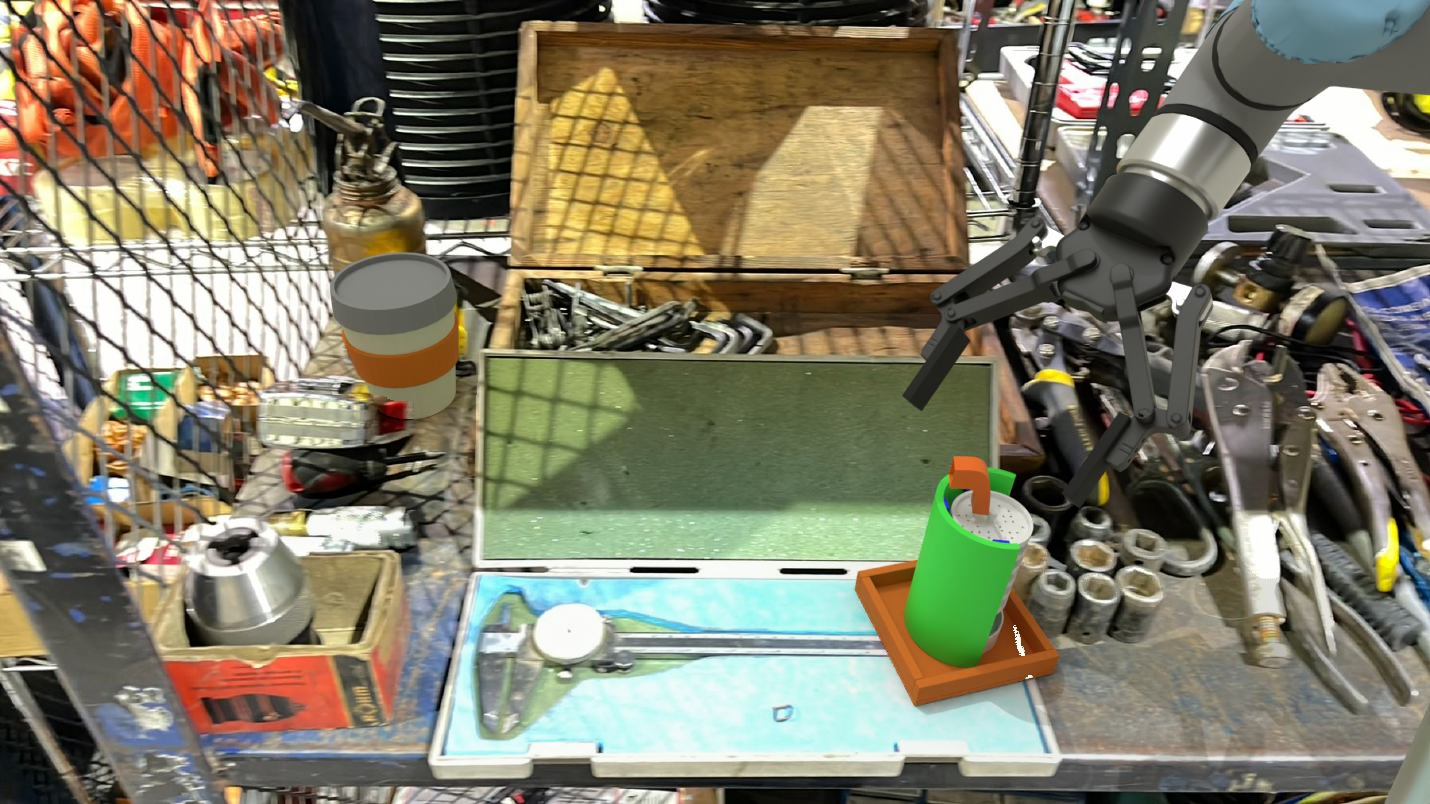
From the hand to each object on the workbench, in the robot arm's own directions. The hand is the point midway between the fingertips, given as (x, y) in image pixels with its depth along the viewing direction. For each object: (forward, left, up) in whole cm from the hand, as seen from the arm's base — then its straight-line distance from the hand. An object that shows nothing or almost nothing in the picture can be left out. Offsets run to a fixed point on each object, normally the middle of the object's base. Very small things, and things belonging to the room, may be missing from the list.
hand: (986, 449), depth 65 cm
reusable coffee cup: (+46, +42, -22) cm, 66 cm away
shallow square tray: (+1, -2, -22) cm, 22 cm away
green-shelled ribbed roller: (+1, -2, -21) cm, 22 cm away
